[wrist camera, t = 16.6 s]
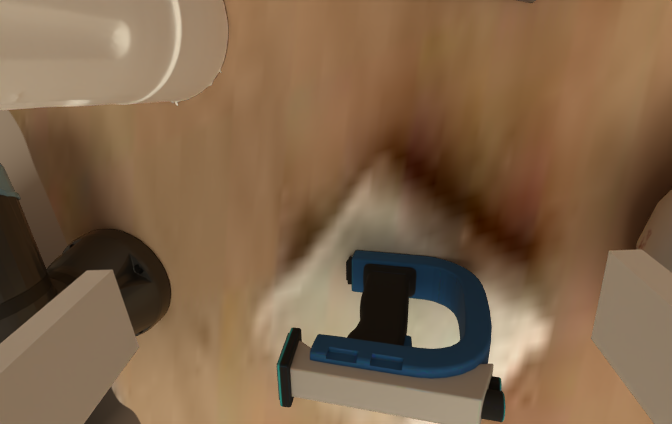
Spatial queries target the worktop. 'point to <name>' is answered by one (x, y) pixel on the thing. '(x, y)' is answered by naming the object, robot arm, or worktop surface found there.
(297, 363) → the handheld scanner
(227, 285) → the worktop surface
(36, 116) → the worktop surface
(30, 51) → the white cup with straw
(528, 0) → the board
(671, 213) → the chamber pot
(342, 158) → the worktop surface
